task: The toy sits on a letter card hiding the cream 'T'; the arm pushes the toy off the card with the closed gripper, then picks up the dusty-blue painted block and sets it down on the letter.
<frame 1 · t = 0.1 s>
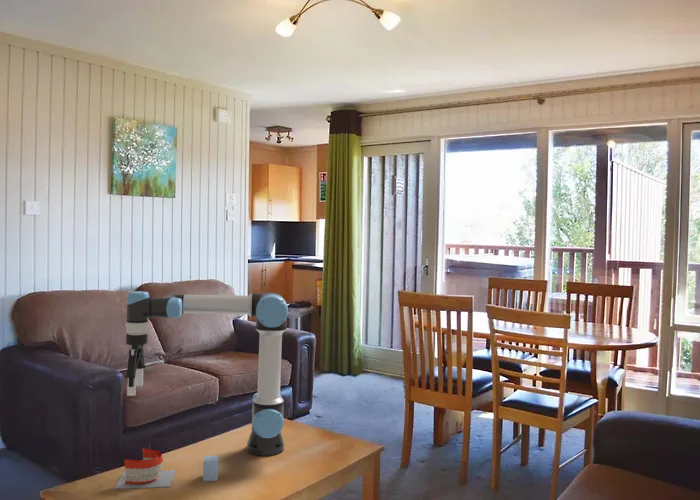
hand: (135, 390, 218), 28 cm above the table, fingers open, 13 cm apart
block: (210, 477, 209), on the table
toy: (146, 479, 206), resting on letter card
letter card: (146, 479, 206), on the table
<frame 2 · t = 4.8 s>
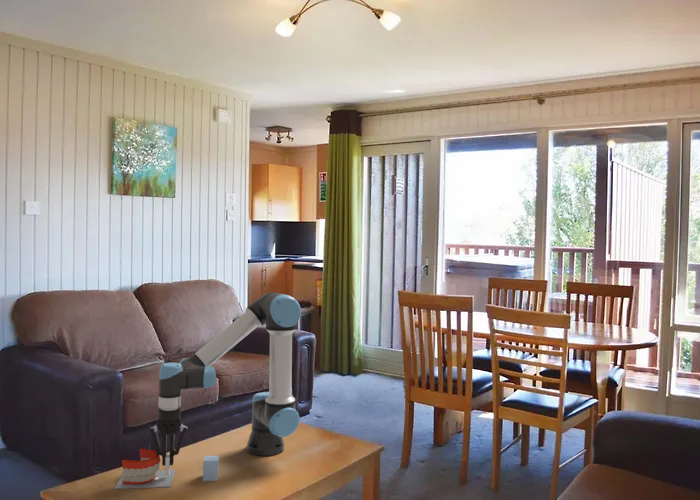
hand: (167, 474, 207), 2 cm above the table, fingers closed
toy: (143, 479, 206), resting on letter card, touching gripper
everything else where it was.
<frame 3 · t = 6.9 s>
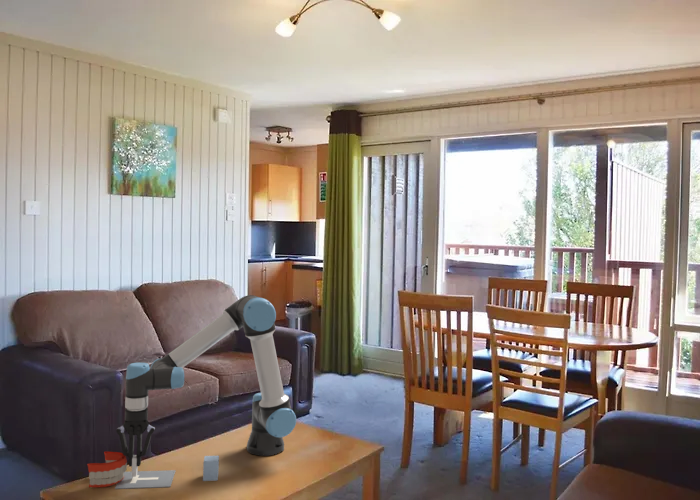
hand: (134, 475, 205), 2 cm above the table, fingers closed
toy: (110, 481, 203), on the table, touching gripper, letter card
everything else where it was.
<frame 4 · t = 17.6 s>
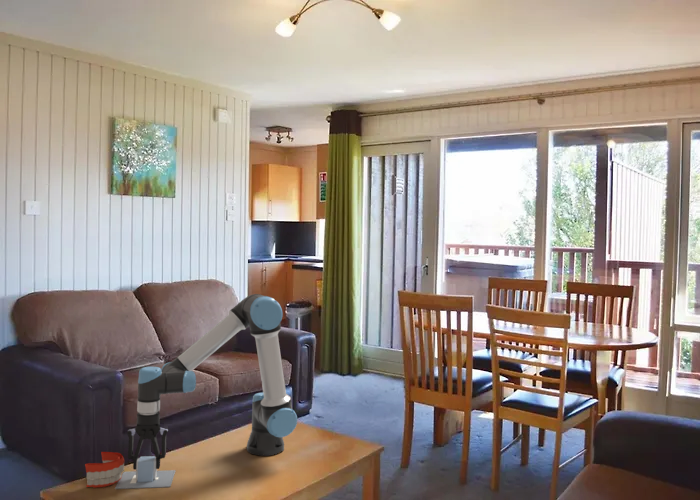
hand: (146, 477, 206), 1 cm above the table, fingers closed on block, 5 cm apart
block: (146, 478, 206), resting on letter card, touching gripper
toy: (108, 481, 203), on the table, touching letter card
when the fingers open (1 cm above the table, at t = 17.8 s): block stays where it is, resting on letter card.
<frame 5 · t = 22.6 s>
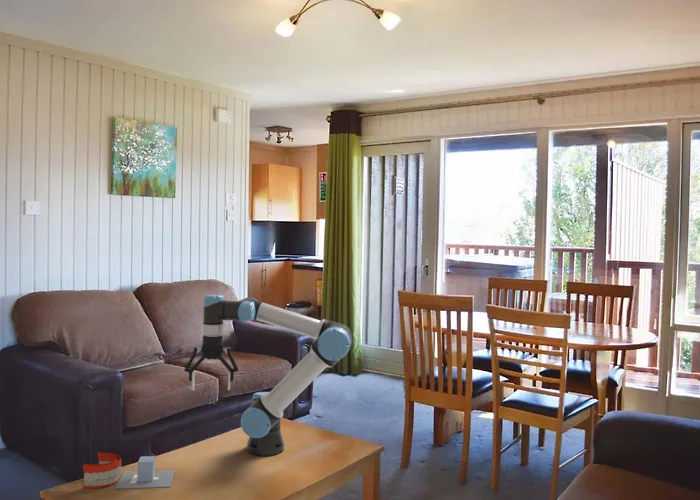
hand: (211, 389, 227), 27 cm above the table, fingers open, 13 cm apart
block: (146, 478, 206), resting on letter card
toy: (104, 482, 203), on the table
at the end: toy inside the target area (9.4 cm from its centre), on the table; block inside the target area on the letter card (0.2 cm from its centre), point 0.3 cm above the letter card's base; block tilted 0° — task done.
